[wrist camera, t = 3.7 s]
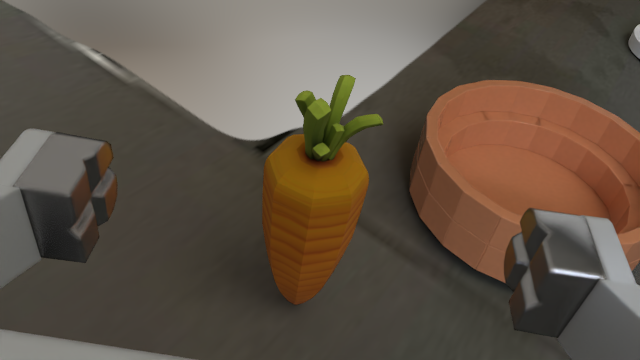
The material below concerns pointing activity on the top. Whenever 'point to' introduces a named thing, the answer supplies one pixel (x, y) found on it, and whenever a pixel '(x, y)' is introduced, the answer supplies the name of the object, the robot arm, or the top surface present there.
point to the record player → (635, 41)
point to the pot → (521, 167)
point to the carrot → (314, 194)
